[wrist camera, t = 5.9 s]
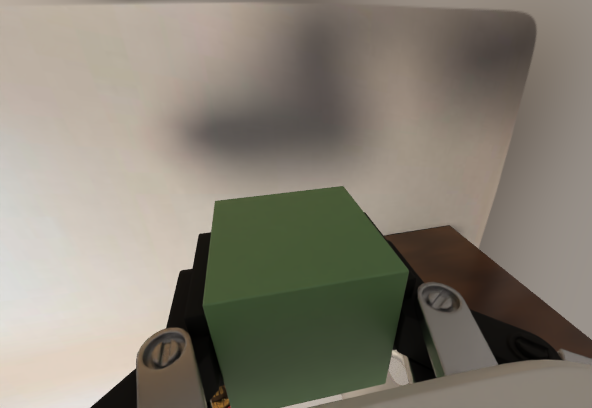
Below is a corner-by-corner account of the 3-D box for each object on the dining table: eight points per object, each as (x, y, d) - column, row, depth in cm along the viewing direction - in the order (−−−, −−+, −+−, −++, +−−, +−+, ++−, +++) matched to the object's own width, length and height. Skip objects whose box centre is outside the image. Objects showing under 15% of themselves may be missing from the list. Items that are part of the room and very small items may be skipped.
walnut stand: (449, 225, 40) (643, 381, 22) (434, 282, 46) (578, 448, 27) (377, 236, 39) (519, 417, 20) (369, 295, 44) (476, 481, 25)
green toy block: (343, 185, 11) (410, 270, 7) (338, 279, 14) (385, 384, 10) (214, 200, 11) (202, 305, 6) (233, 296, 13) (233, 419, 9)
